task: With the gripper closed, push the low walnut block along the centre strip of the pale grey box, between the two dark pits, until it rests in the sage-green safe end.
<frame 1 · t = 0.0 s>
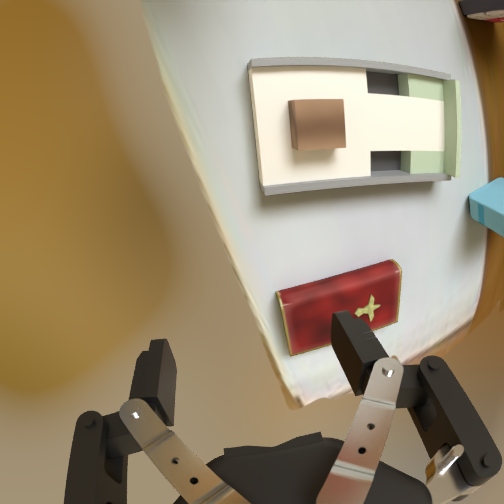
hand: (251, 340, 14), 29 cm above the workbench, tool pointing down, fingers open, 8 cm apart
data package: (484, 195, 46), on the workbench
hardcover book: (337, 300, 52), on the workbench
calculator: (476, 11, 29), on the workbench
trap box: (359, 121, 38), on the workbench
walnut block: (313, 123, 35), point 3 cm above the workbench, touching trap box
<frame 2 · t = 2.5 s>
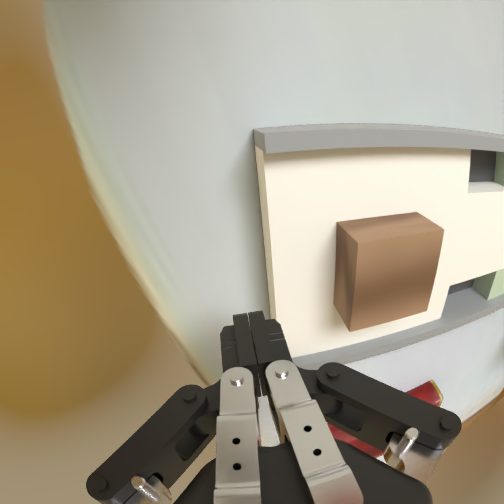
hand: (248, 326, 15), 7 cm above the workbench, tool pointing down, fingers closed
hardcover book: (361, 425, 36), on the workbench
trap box: (437, 227, 22), on the workbench
walnut block: (376, 258, 19), point 3 cm above the workbench, touching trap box
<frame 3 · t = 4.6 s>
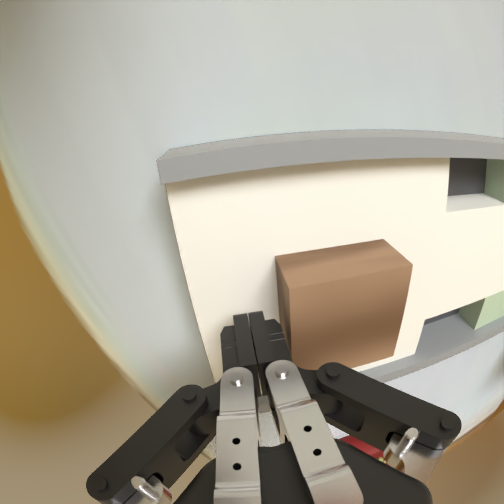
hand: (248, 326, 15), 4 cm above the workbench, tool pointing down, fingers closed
hardcover book: (337, 451, 34), on the workbench
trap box: (412, 251, 20), on the workbench
walnut block: (331, 295, 16), point 3 cm above the workbench, touching gripper, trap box
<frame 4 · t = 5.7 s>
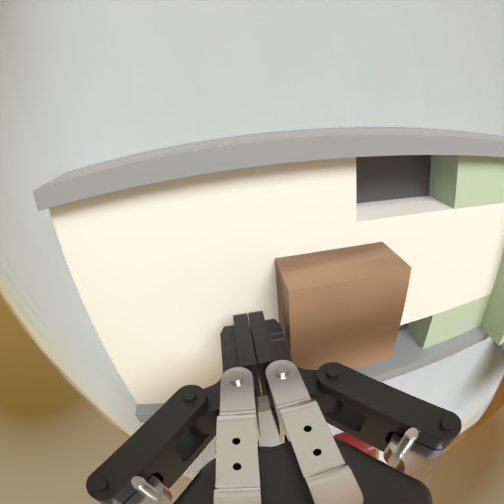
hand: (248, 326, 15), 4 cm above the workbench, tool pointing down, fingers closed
hardcover book: (293, 462, 33), on the workbench
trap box: (334, 263, 19), on the workbench
walnut block: (330, 297, 17), point 3 cm above the workbench, touching gripper, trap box
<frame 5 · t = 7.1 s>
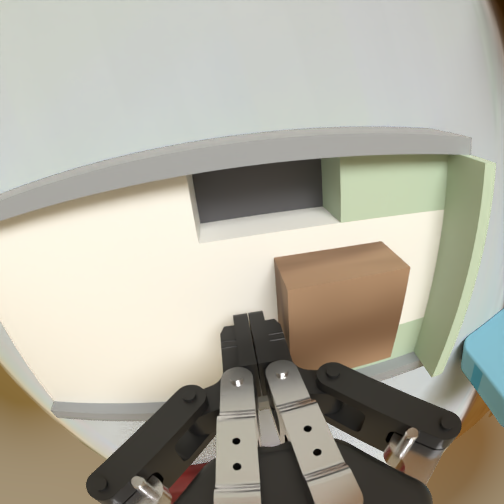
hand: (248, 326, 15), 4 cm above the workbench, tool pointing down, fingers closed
data package: (491, 325, 27), on the workbench
hardcover book: (235, 470, 33), on the workbench
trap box: (212, 282, 19), on the workbench
walnut block: (329, 296, 17), point 3 cm above the workbench, touching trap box
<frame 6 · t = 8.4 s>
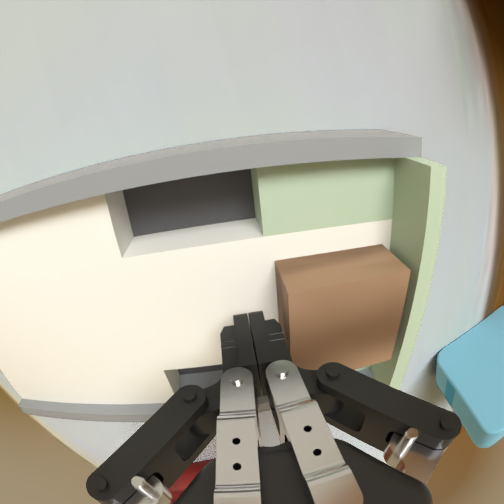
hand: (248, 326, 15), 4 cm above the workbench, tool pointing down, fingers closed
data package: (470, 337, 27), on the workbench
hardcover book: (205, 474, 33), on the workbench
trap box: (151, 292, 18), on the workbench
walnut block: (329, 299, 17), point 3 cm above the workbench, touching gripper, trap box
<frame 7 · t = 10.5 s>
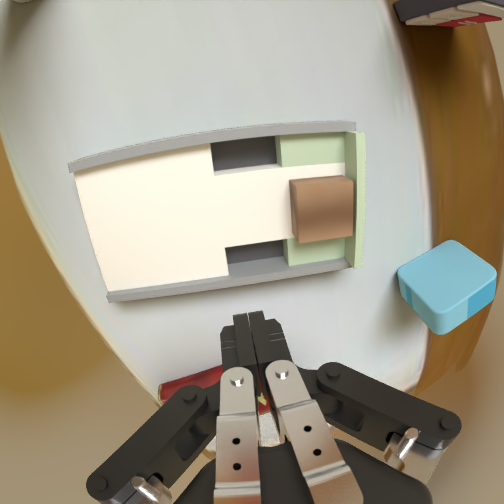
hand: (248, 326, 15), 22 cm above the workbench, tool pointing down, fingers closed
data package: (424, 263, 42), on the workbench
hardcover book: (230, 384, 48), on the workbench
calculator: (424, 14, 26), on the workbench
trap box: (218, 205, 34), on the workbench
walnut block: (317, 203, 33), point 3 cm above the workbench, touching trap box
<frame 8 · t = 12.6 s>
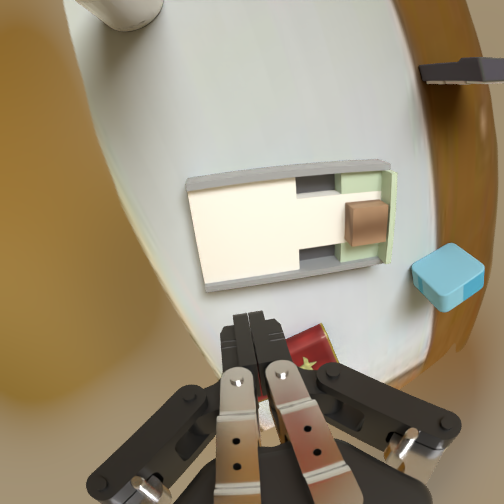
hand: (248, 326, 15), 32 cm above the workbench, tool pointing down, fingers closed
data package: (431, 260, 56), on the workbench
hardcover book: (282, 359, 62), on the workbench
calculator: (440, 71, 39), on the workbench
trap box: (292, 218, 47), on the workbench
walnut block: (361, 219, 46), point 3 cm above the workbench, touching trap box
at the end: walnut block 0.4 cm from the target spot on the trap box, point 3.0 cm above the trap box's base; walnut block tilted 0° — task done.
